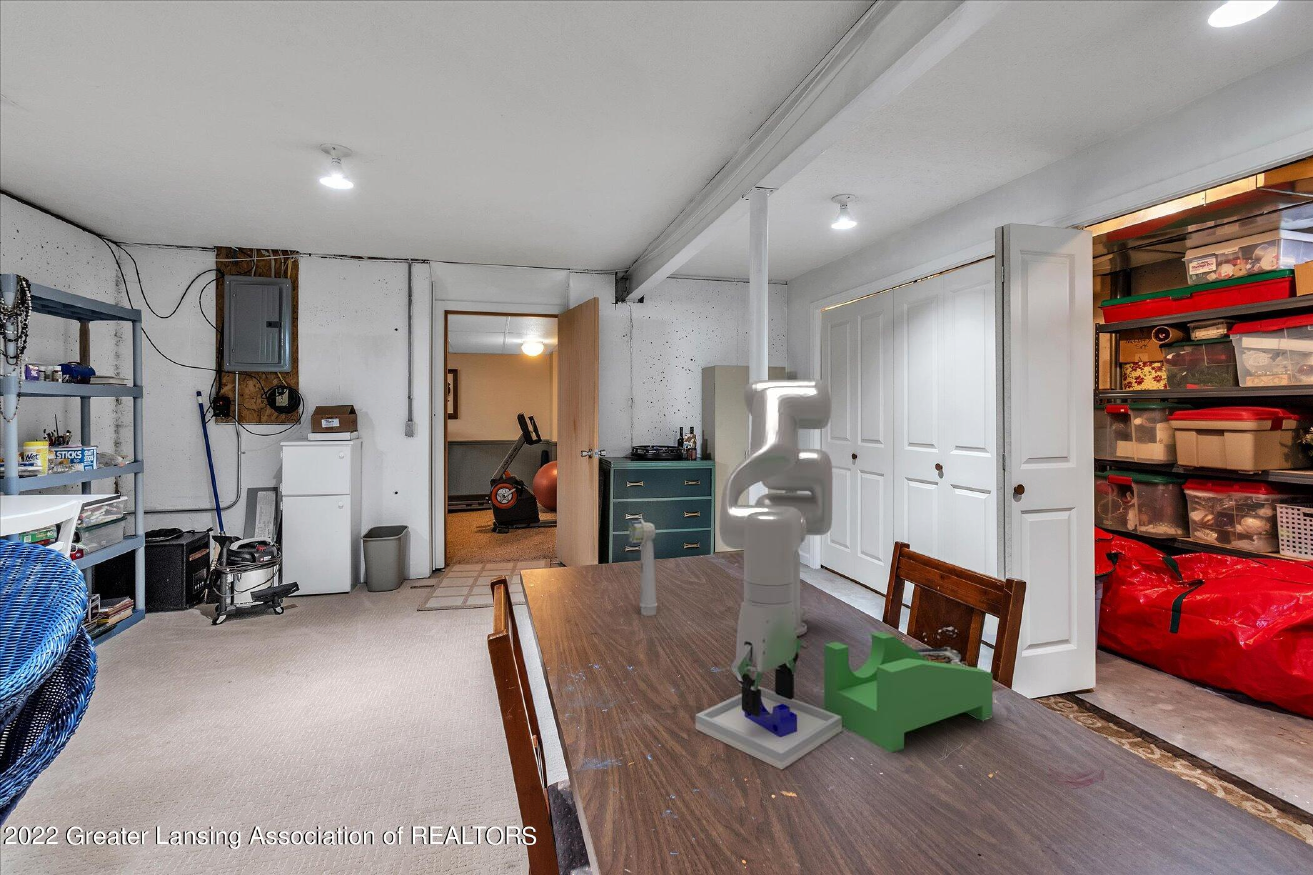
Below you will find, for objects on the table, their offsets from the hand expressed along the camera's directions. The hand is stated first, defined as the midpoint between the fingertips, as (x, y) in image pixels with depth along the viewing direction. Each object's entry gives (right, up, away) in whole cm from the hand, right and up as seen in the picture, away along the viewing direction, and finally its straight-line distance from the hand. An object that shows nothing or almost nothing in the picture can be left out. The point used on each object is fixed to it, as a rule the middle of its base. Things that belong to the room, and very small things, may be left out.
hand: (768, 704), depth 94 cm
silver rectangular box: (+35, -4, +23) cm, 41 cm away
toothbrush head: (-20, -4, +58) cm, 61 cm away
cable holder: (0, -3, 0) cm, 3 cm away
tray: (0, -4, 0) cm, 4 cm away
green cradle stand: (+24, -5, +5) cm, 25 cm away
